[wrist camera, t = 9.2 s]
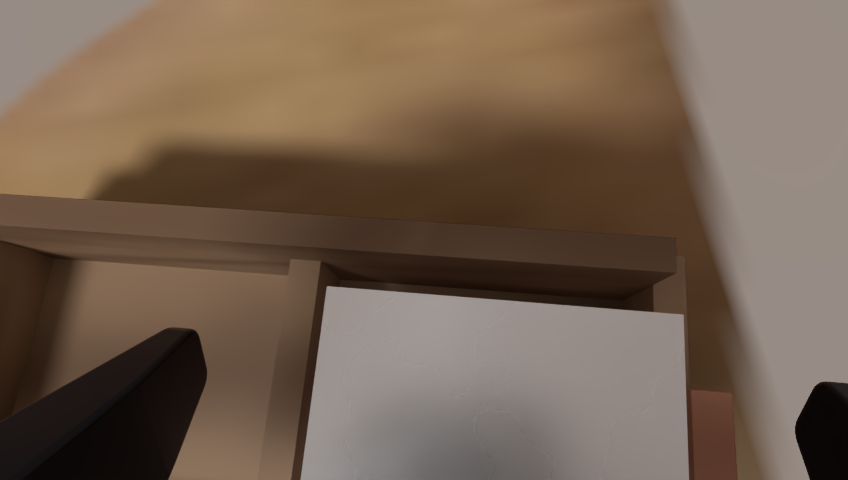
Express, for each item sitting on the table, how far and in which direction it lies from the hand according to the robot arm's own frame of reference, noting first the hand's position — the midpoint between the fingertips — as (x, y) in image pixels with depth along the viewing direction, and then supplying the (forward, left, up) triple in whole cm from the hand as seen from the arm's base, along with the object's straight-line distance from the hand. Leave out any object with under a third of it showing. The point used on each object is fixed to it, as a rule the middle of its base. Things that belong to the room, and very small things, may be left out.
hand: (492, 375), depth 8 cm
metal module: (-1, 0, -8) cm, 8 cm away
